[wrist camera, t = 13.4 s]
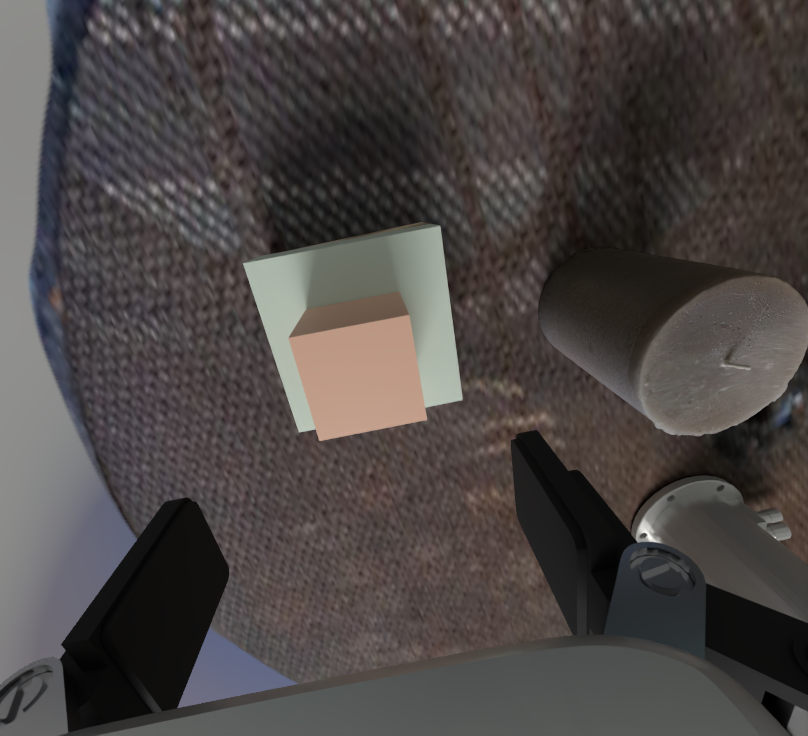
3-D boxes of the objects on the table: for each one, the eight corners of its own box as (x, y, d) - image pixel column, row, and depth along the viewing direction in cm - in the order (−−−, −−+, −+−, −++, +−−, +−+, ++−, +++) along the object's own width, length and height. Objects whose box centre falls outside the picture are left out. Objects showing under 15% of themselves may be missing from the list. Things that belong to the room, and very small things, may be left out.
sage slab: (430, 223, 27) (440, 225, 23) (451, 377, 31) (462, 400, 28) (260, 256, 26) (243, 263, 23) (307, 406, 31) (299, 432, 27)
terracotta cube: (399, 291, 24) (409, 314, 19) (414, 376, 27) (427, 419, 21) (306, 309, 24) (288, 337, 19) (329, 393, 26) (319, 441, 21)
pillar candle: (570, 229, 31) (731, 248, 17) (668, 268, 33) (883, 313, 19) (518, 338, 34) (618, 428, 20) (609, 368, 36) (757, 468, 22)
